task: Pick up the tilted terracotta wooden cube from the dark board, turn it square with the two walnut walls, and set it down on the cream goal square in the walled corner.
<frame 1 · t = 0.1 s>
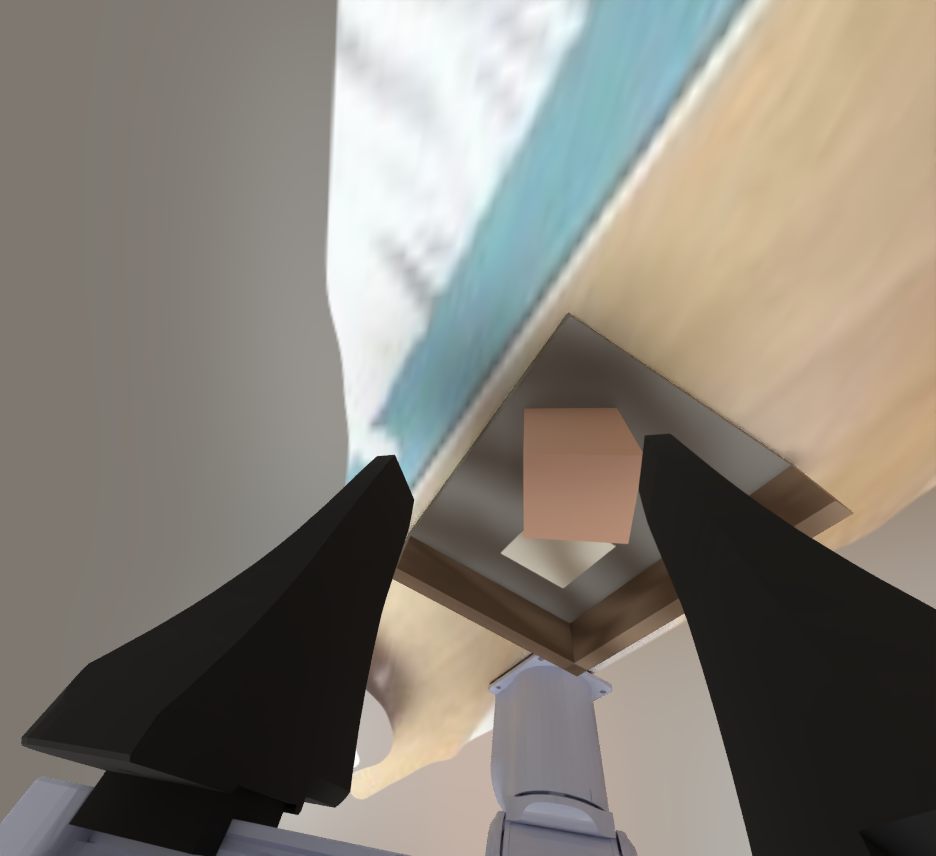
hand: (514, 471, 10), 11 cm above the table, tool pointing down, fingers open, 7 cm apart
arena: (570, 506, 23), on the table
cube: (567, 446, 20), point 1 cm above the table, touching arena
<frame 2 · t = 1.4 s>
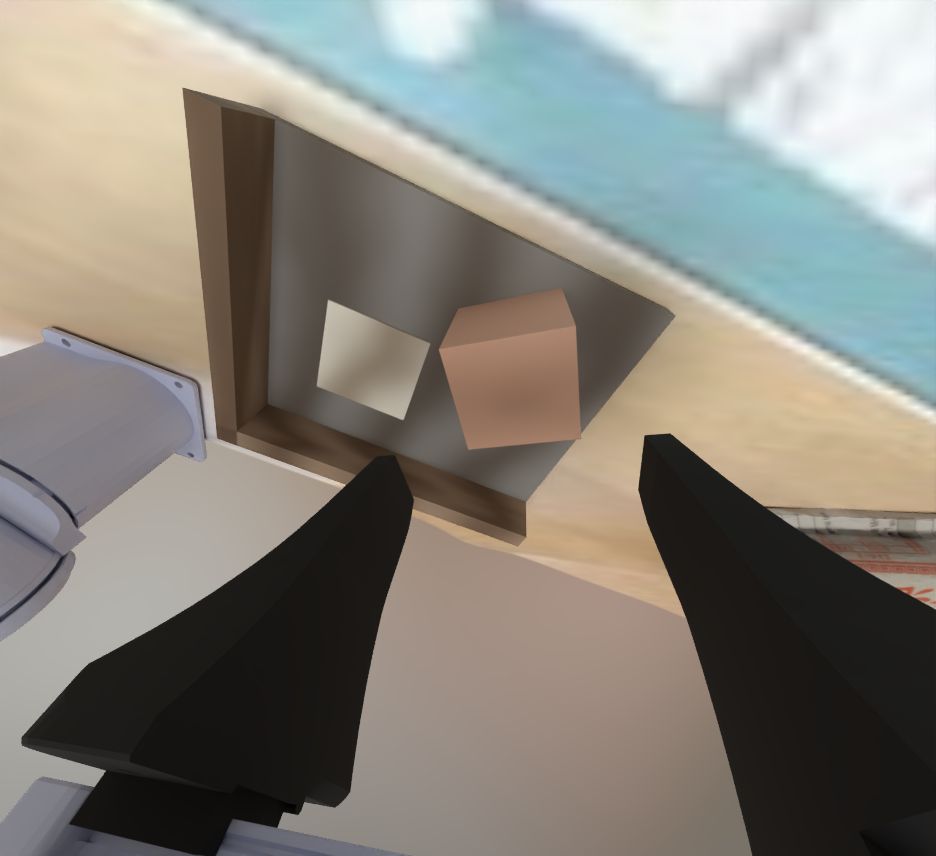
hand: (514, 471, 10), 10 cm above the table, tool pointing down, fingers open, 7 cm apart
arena: (428, 364, 20), on the table
packaged product: (813, 545, 26), on the table
cube: (515, 347, 18), point 1 cm above the table, touching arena
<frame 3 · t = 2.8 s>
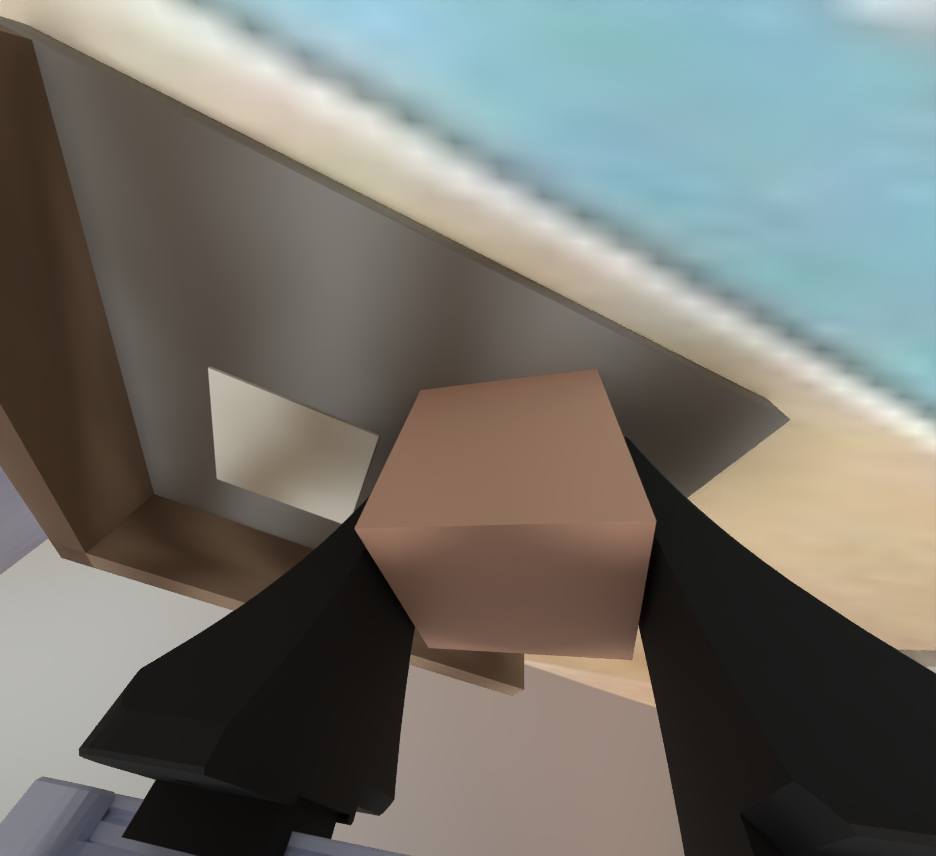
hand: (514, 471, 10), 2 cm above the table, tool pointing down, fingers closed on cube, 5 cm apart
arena: (382, 453, 13), on the table
packaged product: (904, 675, 19), on the table
cube: (514, 447, 11), point 1 cm above the table, touching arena, gripper
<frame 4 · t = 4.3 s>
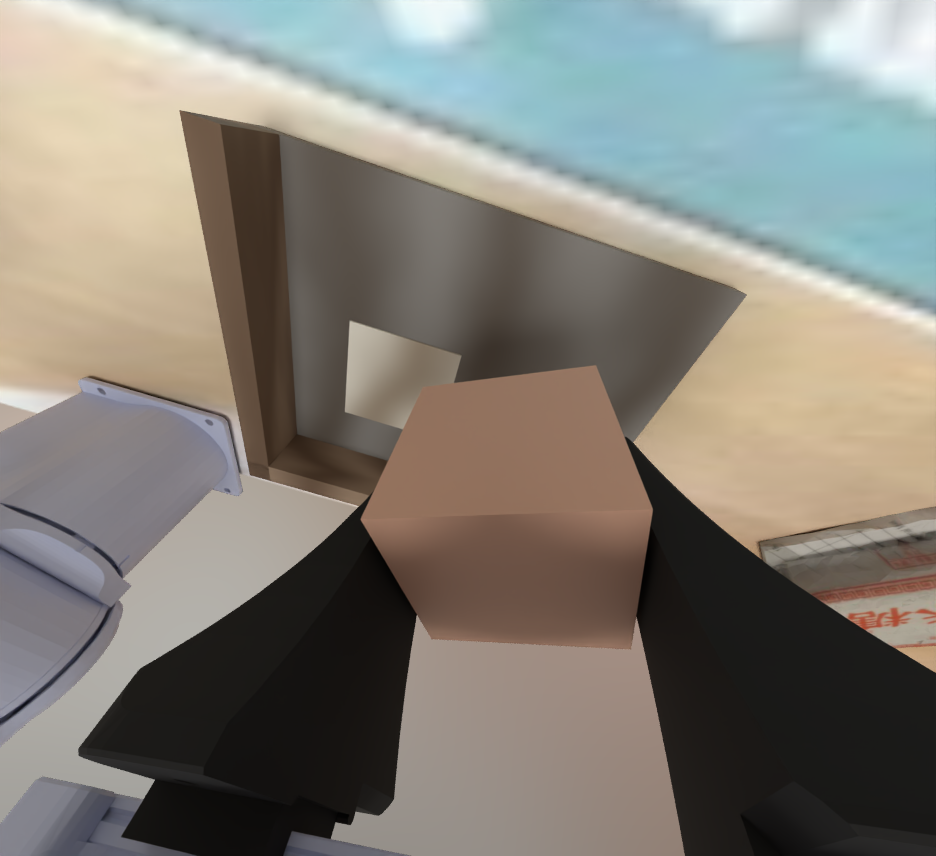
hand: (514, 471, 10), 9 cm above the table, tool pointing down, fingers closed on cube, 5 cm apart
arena: (459, 377, 18), on the table
packaged product: (925, 543, 22), on the table
cube: (515, 443, 11), point 7 cm above the table, touching gripper
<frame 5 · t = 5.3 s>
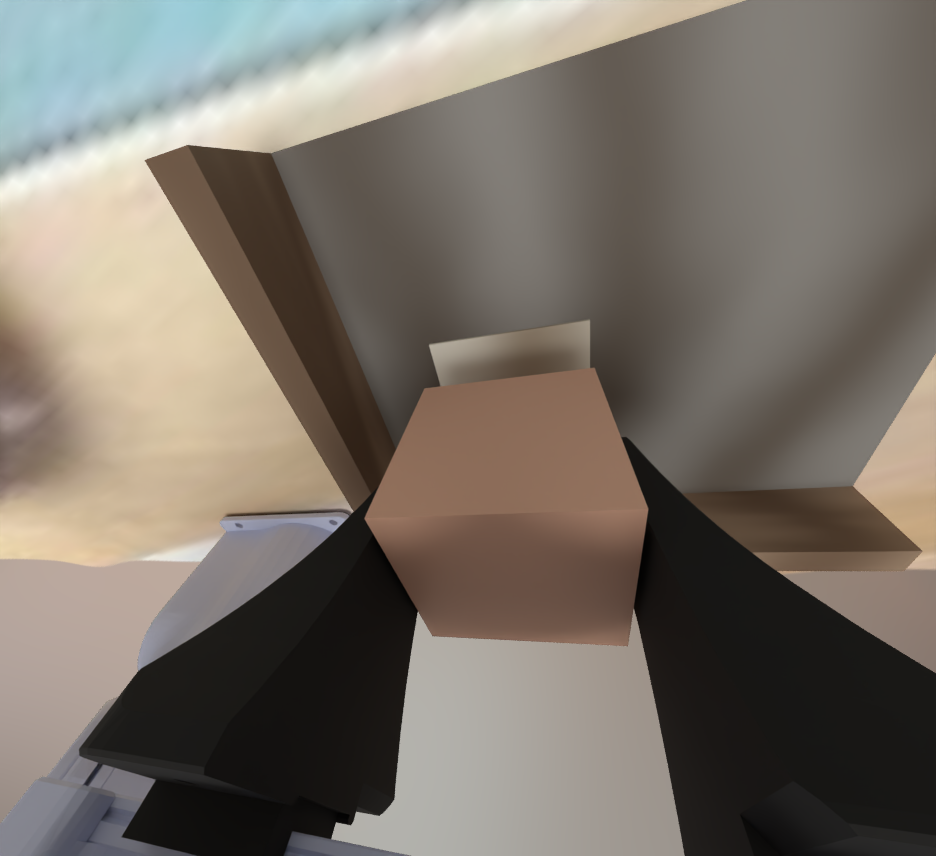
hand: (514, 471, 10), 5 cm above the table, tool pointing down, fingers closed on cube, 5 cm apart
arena: (590, 355, 13), on the table
cube: (515, 444, 11), point 4 cm above the table, touching gripper
when the fingers open (4 cm above the table, at t = 6.1 s): cube drops 1 cm, resting on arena.
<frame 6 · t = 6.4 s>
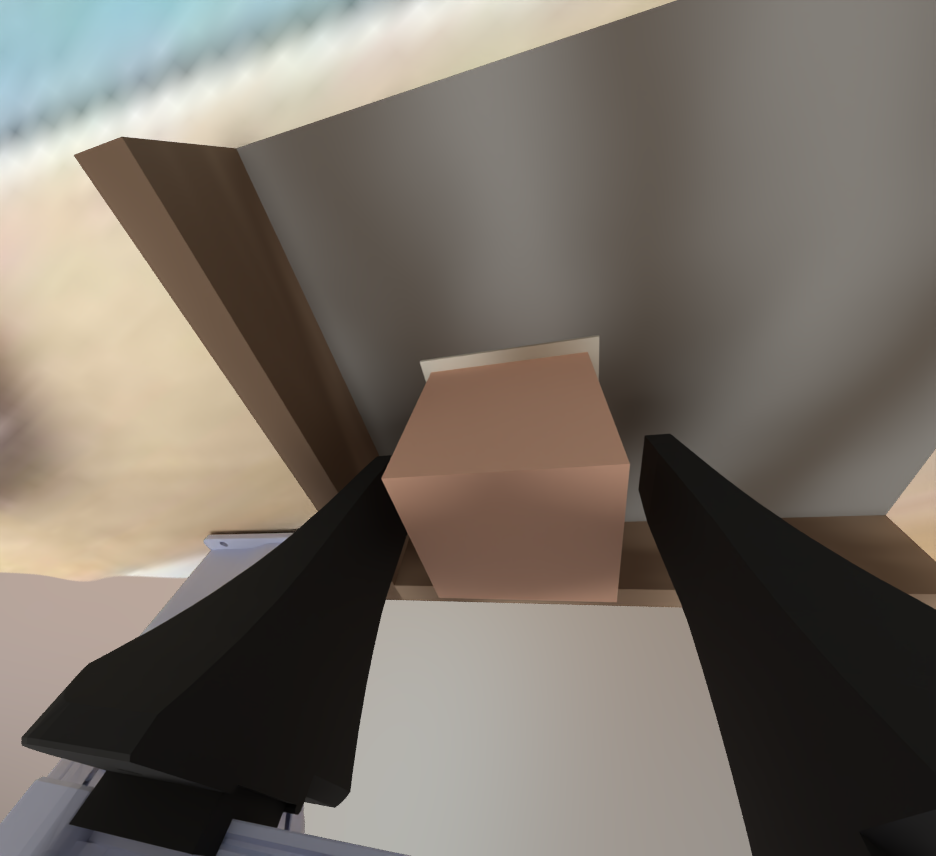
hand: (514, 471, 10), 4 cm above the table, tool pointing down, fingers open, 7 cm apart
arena: (598, 373, 12), on the table
cube: (514, 425, 12), point 1 cm above the table, touching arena
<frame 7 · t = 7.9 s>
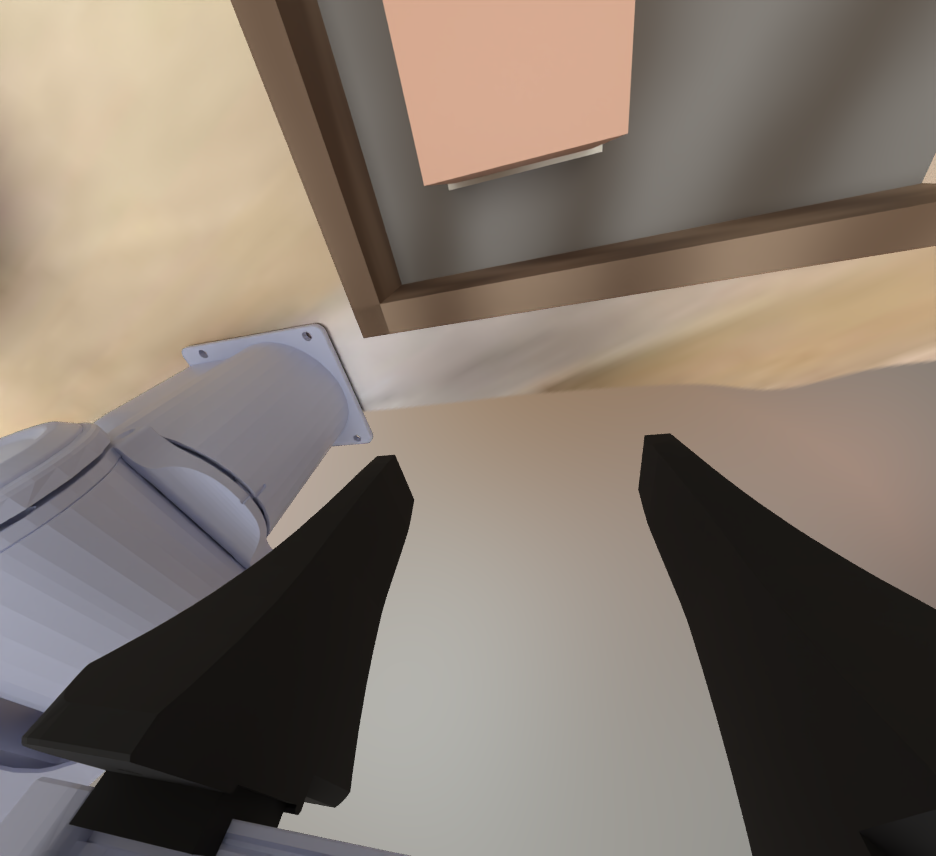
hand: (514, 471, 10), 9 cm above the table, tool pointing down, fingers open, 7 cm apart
cube: (511, 71, 11), point 1 cm above the table, touching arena
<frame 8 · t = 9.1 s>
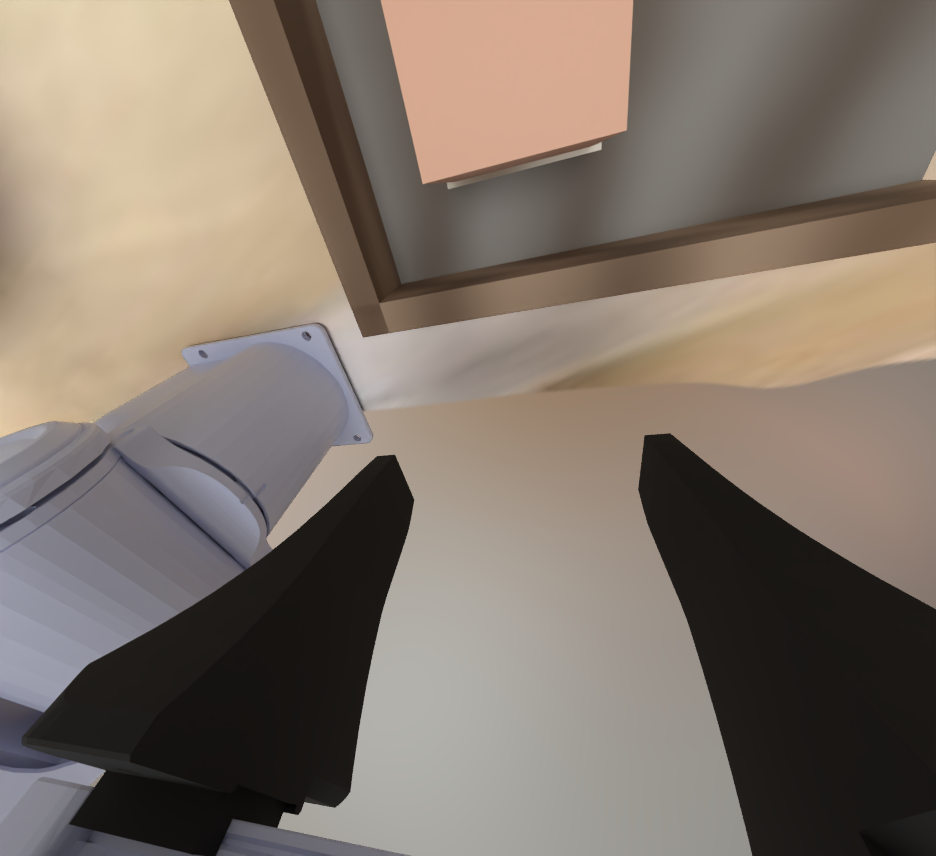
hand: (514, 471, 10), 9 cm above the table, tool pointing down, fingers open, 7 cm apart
cube: (510, 69, 11), point 1 cm above the table, touching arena
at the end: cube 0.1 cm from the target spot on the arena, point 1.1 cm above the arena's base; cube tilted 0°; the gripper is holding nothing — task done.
